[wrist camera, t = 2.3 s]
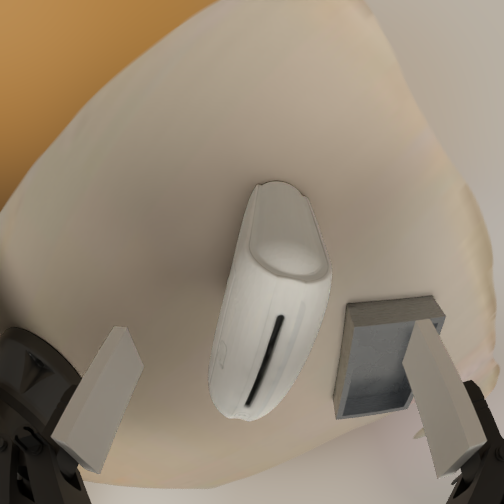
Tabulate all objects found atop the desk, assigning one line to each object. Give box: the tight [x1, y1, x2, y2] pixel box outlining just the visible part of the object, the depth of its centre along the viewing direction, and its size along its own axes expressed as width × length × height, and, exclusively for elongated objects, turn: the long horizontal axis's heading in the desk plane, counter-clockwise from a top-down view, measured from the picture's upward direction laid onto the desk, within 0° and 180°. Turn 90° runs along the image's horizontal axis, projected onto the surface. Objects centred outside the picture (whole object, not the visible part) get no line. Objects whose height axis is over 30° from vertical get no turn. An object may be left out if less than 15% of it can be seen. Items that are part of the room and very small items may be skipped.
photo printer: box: [208, 181, 332, 421], centre depth 17 cm, size 10×4×12 cm, turn 167°
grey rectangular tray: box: [333, 296, 446, 420], centre depth 25 cm, size 8×13×3 cm, turn 5°
